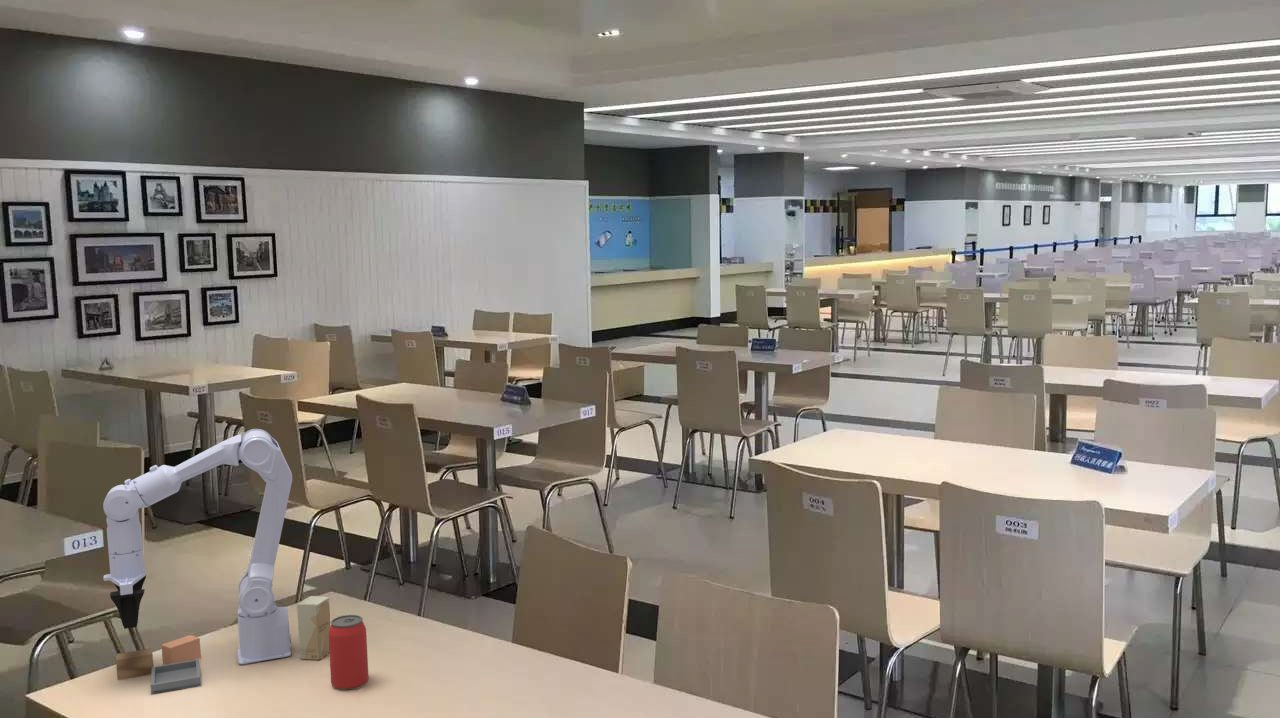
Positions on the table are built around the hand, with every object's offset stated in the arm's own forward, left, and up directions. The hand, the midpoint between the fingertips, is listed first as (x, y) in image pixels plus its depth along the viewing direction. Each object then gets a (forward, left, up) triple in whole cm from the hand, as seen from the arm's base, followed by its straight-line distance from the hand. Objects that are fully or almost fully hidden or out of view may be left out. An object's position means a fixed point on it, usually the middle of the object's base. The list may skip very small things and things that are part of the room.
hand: (131, 620), depth 194 cm
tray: (-7, +7, -10) cm, 14 cm away
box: (-32, +6, -11) cm, 34 cm away
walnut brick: (0, 0, -10) cm, 10 cm away
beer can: (-36, +23, -11) cm, 44 cm away
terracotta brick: (-8, -3, -10) cm, 14 cm away
